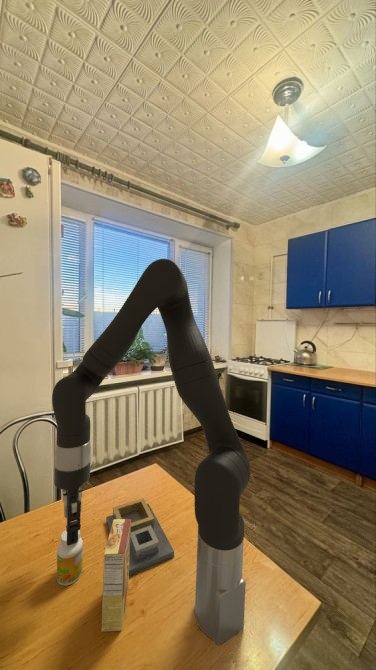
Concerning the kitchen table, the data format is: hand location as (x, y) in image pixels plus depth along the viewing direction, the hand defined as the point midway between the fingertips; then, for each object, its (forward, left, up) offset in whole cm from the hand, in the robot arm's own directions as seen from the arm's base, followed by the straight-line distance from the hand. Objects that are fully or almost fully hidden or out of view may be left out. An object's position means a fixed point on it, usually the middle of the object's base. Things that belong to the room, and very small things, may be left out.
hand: (71, 528), depth 59 cm
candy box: (-12, -8, -11) cm, 18 cm away
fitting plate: (+2, -17, -10) cm, 20 cm away
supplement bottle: (-1, 0, -11) cm, 11 cm away
